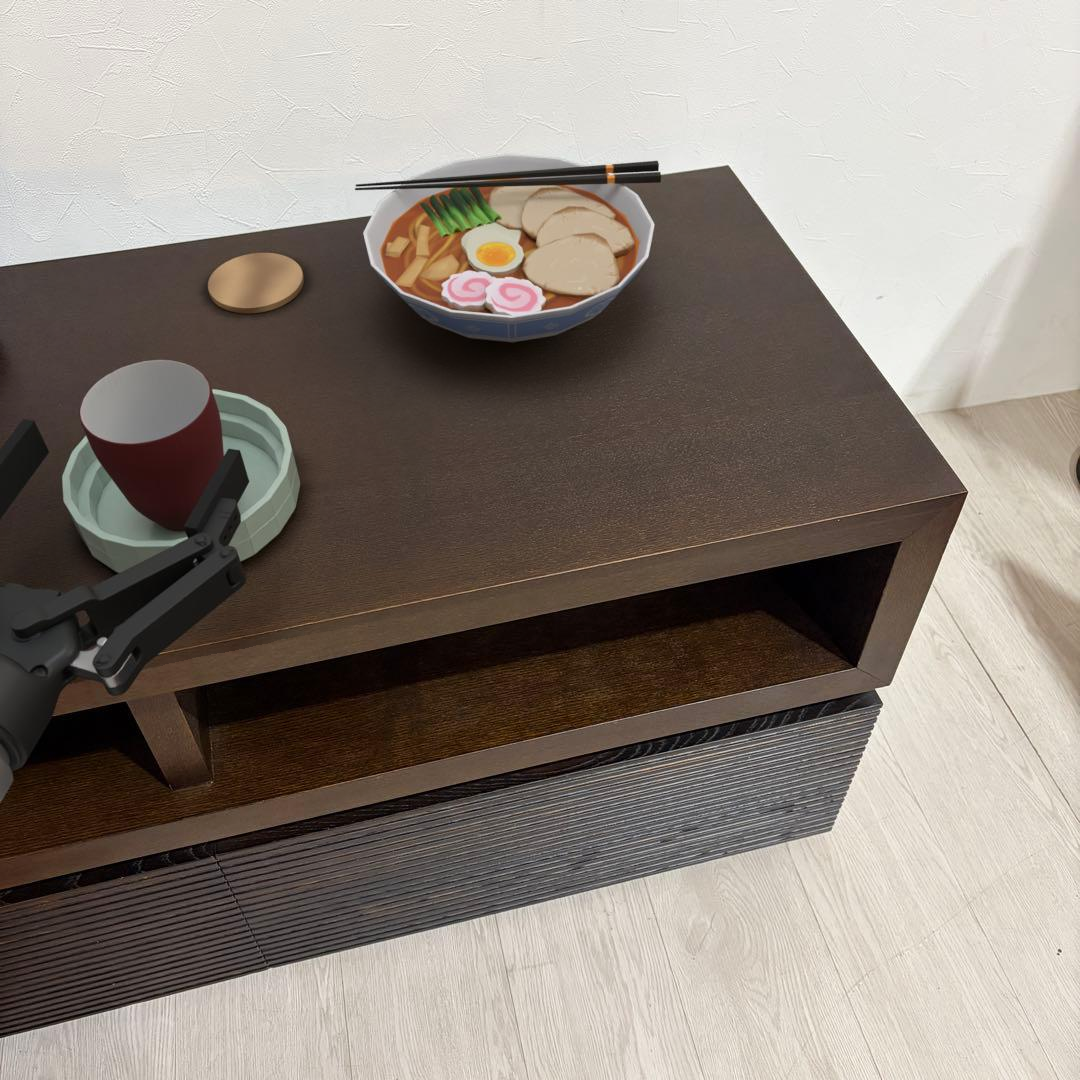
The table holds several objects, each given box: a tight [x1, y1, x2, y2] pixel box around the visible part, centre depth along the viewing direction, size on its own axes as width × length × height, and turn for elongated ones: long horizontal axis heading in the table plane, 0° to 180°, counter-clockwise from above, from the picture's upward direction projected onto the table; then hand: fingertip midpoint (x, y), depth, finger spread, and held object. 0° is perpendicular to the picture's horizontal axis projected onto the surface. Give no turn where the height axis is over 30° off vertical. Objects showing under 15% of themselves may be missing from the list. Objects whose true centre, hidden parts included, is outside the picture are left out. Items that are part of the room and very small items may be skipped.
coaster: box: [207, 252, 305, 314], centre depth 94 cm, size 8×8×1 cm
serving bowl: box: [61, 388, 301, 574], centre depth 75 cm, size 15×15×4 cm
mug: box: [78, 359, 224, 531], centre depth 73 cm, size 10×8×10 cm
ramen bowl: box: [354, 153, 662, 343], centre depth 88 cm, size 25×23×8 cm
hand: (136, 449), depth 68 cm, fingers open, 13 cm apart
